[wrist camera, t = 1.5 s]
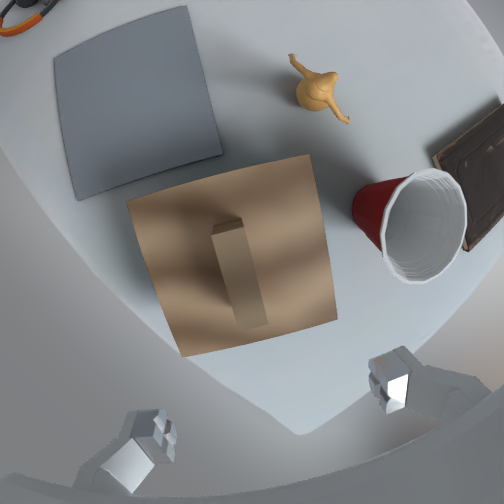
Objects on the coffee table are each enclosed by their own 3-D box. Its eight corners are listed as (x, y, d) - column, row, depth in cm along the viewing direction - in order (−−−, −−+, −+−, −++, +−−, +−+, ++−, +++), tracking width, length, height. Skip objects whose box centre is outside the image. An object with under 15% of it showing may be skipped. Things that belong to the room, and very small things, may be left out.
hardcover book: (427, 155, 33) (437, 155, 30) (499, 102, 31) (507, 101, 28) (461, 249, 37) (470, 253, 35) (524, 182, 35) (532, 183, 33)
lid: (130, 200, 24) (108, 207, 19) (306, 154, 24) (324, 151, 20) (183, 352, 29) (177, 382, 24) (334, 314, 29) (352, 340, 24)
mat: (56, 59, 25) (54, 58, 24) (187, 7, 25) (186, 5, 24) (79, 200, 30) (77, 201, 30) (223, 154, 30) (223, 153, 30)
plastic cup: (352, 267, 35) (400, 309, 24) (317, 189, 32) (363, 200, 21) (417, 228, 35) (478, 252, 23) (390, 152, 32) (454, 150, 20)
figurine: (344, 116, 30) (398, 95, 19) (306, 145, 31) (348, 134, 19) (298, 62, 28) (332, 16, 17) (258, 90, 29) (275, 49, 17)
